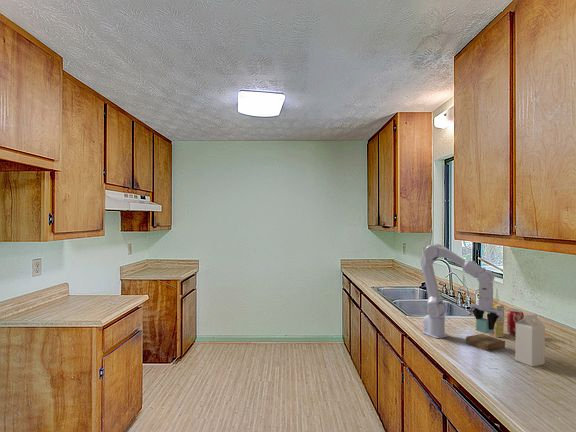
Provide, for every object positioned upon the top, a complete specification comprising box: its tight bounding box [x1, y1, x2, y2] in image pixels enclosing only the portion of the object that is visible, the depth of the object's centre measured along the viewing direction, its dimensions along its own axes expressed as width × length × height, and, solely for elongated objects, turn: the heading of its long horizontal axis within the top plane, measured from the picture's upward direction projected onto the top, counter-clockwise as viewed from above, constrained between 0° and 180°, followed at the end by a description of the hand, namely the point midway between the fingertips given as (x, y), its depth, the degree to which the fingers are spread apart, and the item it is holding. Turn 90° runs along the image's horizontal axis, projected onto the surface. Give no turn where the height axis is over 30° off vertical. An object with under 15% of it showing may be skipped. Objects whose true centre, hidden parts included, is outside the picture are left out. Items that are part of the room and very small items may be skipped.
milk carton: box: [514, 313, 546, 367], centre depth 149 cm, size 7×7×19 cm
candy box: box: [485, 301, 505, 338], centre depth 185 cm, size 9×4×15 cm, turn 6°
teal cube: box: [475, 317, 494, 335], centre depth 168 cm, size 5×5×5 cm
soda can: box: [506, 308, 524, 337], centre depth 185 cm, size 7×7×12 cm
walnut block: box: [465, 333, 506, 352], centre depth 168 cm, size 11×11×4 cm
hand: (485, 327), depth 168 cm, fingers closed on teal cube, 5 cm apart
